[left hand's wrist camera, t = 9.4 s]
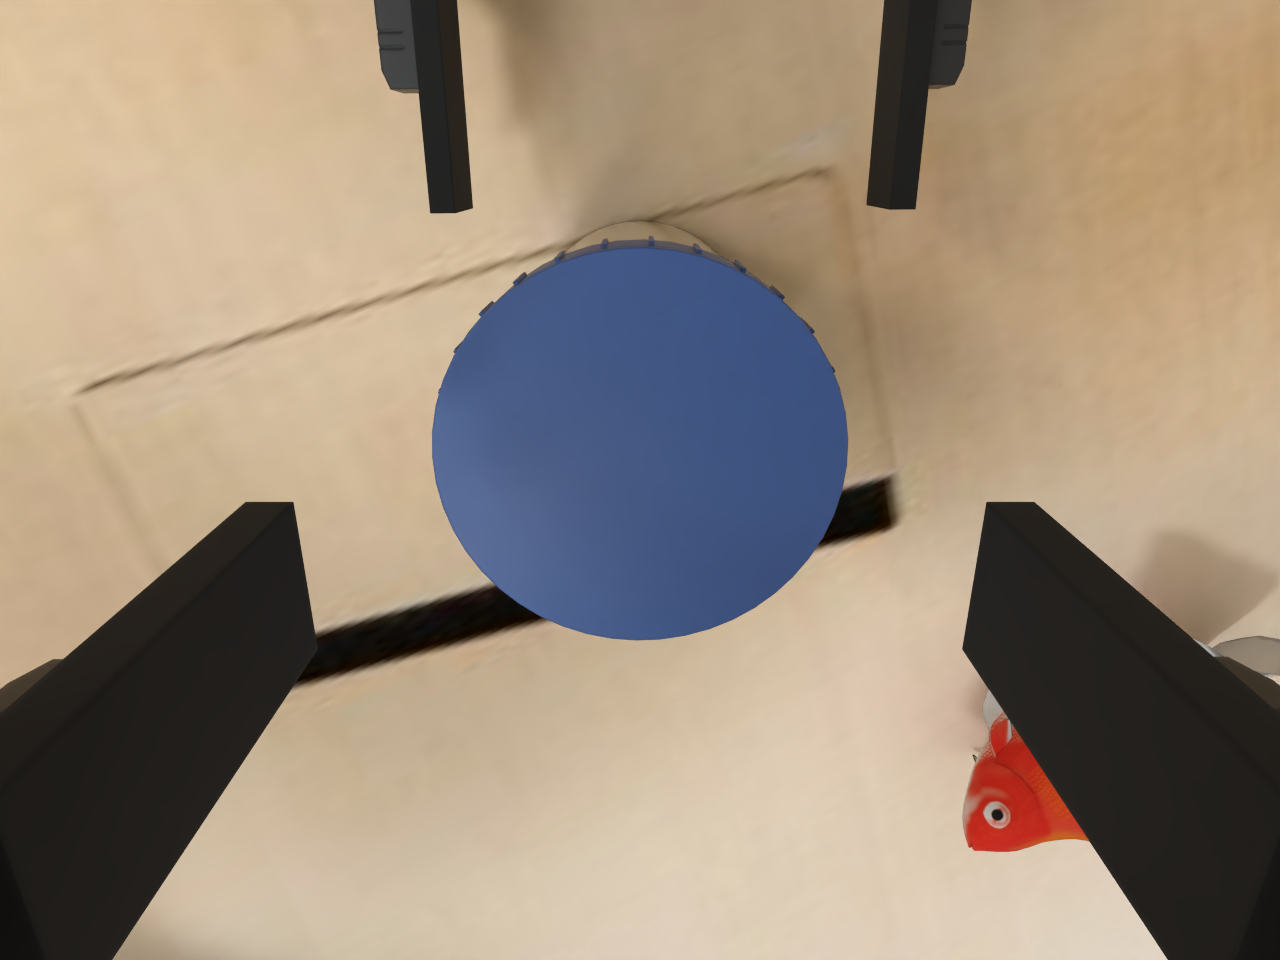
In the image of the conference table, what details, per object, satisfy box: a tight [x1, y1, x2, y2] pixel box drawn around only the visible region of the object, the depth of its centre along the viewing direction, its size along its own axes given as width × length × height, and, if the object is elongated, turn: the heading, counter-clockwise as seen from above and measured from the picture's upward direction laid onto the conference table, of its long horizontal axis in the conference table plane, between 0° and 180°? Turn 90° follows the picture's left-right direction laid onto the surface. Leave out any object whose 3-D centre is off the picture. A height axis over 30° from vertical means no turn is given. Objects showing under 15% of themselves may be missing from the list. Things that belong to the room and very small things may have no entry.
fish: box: [962, 636, 1280, 852], centre depth 35 cm, size 11×16×10 cm
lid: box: [432, 236, 848, 640], centre depth 20 cm, size 10×10×2 cm
